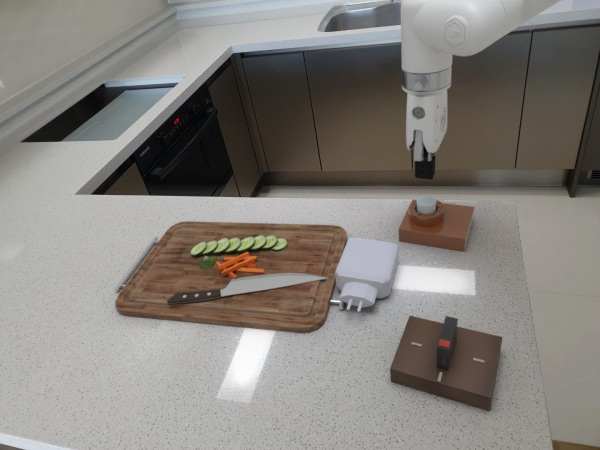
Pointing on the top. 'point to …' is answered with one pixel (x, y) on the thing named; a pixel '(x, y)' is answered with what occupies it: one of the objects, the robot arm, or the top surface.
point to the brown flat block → (463, 368)
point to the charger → (366, 271)
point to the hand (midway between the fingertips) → (424, 176)
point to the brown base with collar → (438, 226)
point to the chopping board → (237, 275)
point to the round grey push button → (426, 205)
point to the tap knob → (447, 342)
